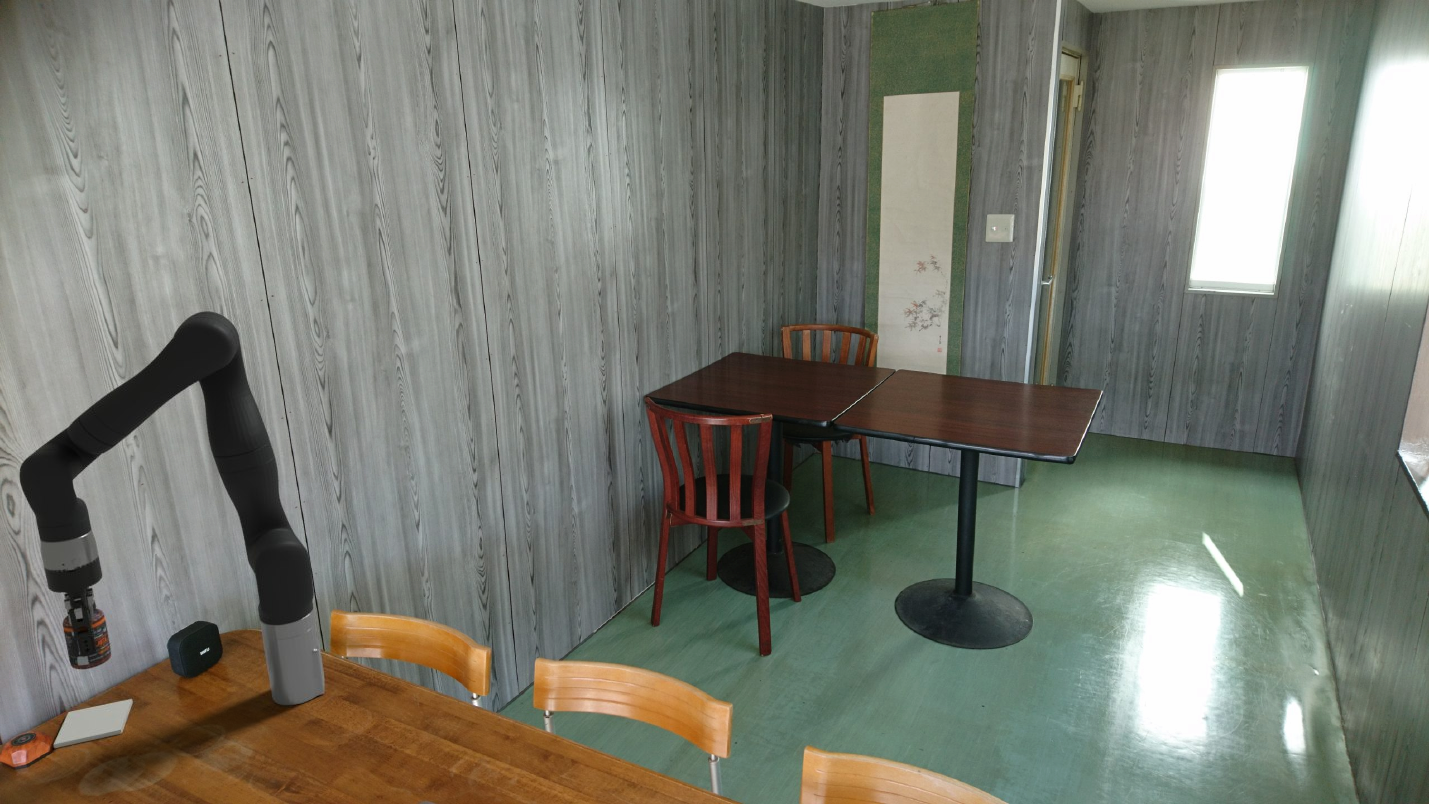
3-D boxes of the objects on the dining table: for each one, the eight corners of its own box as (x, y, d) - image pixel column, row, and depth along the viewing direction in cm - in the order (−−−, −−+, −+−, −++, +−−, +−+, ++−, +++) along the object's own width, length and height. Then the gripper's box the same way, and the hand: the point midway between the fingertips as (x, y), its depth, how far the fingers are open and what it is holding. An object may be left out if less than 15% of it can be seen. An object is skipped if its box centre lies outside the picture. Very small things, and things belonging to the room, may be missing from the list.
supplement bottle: (91, 673, 146) (79, 613, 143) (62, 669, 147) (49, 610, 144) (120, 654, 151) (109, 597, 148) (92, 650, 152) (80, 593, 149)
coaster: (132, 702, 162) (131, 698, 162) (121, 733, 153) (120, 729, 153) (69, 715, 158) (68, 712, 158) (54, 748, 149) (53, 744, 149)
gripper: (45, 548, 147) (63, 634, 152) (41, 580, 136) (61, 672, 141) (97, 538, 152) (114, 622, 156) (98, 568, 140) (115, 658, 145)
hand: (88, 645), depth 148 cm, fingers closed on supplement bottle, 6 cm apart
